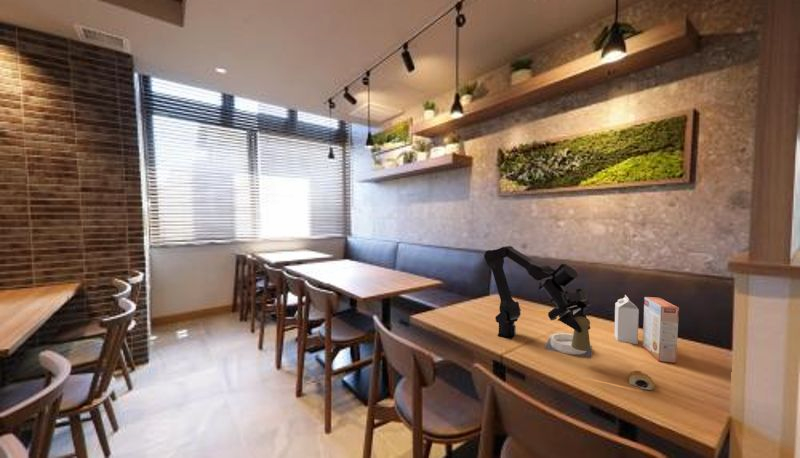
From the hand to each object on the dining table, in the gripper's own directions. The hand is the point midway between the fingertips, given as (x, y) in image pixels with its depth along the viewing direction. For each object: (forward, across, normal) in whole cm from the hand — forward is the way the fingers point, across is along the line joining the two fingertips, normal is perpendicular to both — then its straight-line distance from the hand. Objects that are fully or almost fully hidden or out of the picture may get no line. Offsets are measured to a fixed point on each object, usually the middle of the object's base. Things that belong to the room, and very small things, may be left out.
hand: (585, 330), depth 115 cm
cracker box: (+16, +34, +2) cm, 37 cm away
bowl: (+1, +9, +17) cm, 19 cm away
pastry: (+21, +4, -2) cm, 21 cm away
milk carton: (+7, +38, +12) cm, 40 cm away
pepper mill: (+4, 0, +6) cm, 7 cm away
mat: (+1, +9, +18) cm, 20 cm away
